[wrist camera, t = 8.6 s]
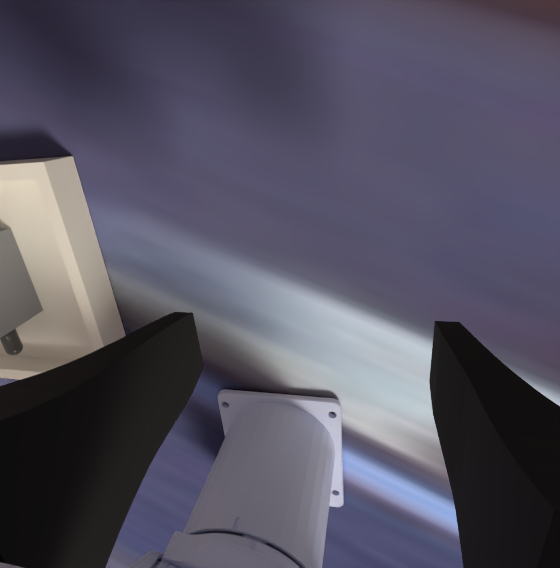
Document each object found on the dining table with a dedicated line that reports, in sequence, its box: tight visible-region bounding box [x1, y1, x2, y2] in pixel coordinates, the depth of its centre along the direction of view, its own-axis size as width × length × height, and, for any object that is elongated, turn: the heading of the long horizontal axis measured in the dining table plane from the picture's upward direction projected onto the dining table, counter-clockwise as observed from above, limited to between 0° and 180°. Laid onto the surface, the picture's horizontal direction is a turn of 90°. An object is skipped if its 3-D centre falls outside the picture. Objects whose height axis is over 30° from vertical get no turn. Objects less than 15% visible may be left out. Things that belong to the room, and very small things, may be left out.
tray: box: [0, 156, 126, 380], centre depth 25 cm, size 14×14×2 cm
